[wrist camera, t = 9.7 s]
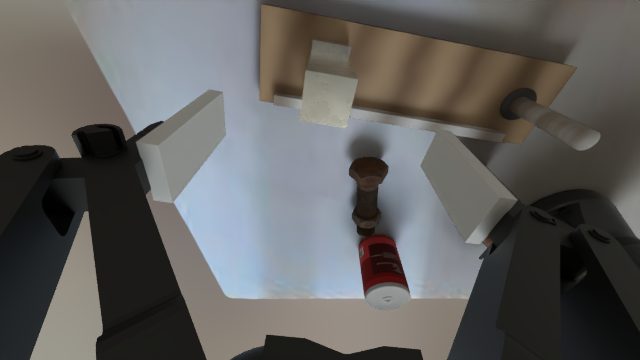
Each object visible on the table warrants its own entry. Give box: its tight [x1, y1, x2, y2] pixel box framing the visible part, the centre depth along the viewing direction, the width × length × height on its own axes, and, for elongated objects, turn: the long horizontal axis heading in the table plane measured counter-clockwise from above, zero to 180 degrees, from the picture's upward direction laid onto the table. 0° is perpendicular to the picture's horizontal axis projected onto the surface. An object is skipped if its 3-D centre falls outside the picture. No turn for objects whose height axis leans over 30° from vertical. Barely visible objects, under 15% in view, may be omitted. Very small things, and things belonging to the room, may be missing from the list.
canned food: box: [359, 235, 410, 310], centre depth 46 cm, size 8×8×11 cm
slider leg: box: [300, 37, 358, 128], centre depth 24 cm, size 4×6×11 cm, turn 171°
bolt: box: [349, 157, 388, 237], centre depth 40 cm, size 6×5×15 cm
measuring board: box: [259, 4, 600, 151], centre depth 26 cm, size 36×10×12 cm, turn 81°
